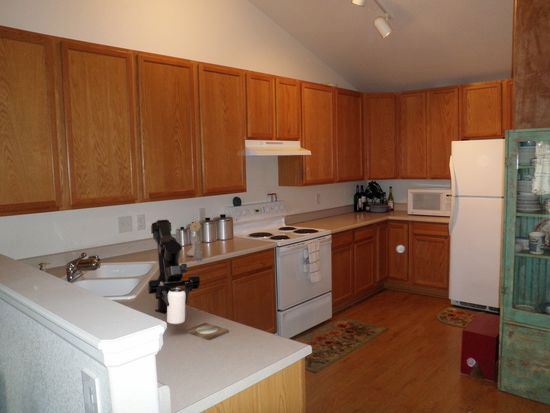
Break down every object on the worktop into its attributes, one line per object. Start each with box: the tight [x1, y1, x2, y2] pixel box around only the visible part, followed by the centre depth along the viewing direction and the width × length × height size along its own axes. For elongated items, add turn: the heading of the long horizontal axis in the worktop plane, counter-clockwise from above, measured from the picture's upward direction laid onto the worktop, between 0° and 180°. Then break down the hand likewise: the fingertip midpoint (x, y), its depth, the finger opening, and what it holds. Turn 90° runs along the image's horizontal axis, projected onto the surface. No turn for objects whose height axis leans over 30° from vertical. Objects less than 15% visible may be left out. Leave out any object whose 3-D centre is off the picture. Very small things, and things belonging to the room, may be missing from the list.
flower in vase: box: [186, 220, 203, 257], centre depth 316 cm, size 13×11×25 cm
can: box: [166, 287, 186, 325], centre depth 162 cm, size 6×6×12 cm
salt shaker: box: [193, 240, 203, 261], centre depth 301 cm, size 6×6×13 cm
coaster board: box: [185, 322, 230, 341], centre depth 168 cm, size 13×10×1 cm
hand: (177, 304), depth 161 cm, fingers closed on can, 6 cm apart
